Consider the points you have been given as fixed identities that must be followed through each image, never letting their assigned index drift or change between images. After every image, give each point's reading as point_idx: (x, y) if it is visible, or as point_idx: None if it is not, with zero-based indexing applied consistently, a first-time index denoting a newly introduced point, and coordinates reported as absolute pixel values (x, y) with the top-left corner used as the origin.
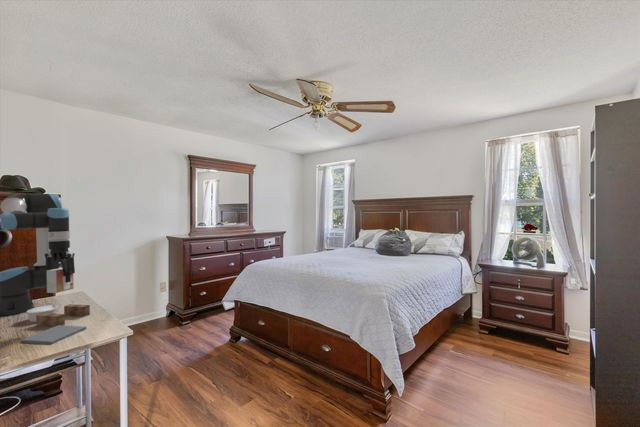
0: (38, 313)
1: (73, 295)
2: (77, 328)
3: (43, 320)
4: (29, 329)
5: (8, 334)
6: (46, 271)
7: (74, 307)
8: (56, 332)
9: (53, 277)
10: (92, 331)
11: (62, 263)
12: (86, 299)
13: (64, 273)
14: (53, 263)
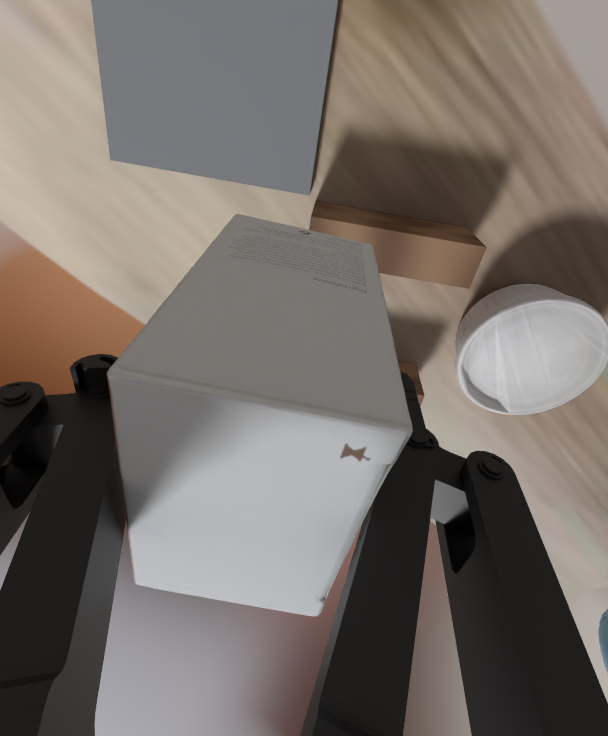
0: (511, 302)
1: None
2: (138, 131)
3: (425, 229)
4: (471, 168)
5: (558, 79)
6: (504, 495)
7: None
8: (211, 58)
9: (233, 303)
10: (41, 113)
11: (18, 619)
12: None
13: (107, 405)
14: (335, 664)
